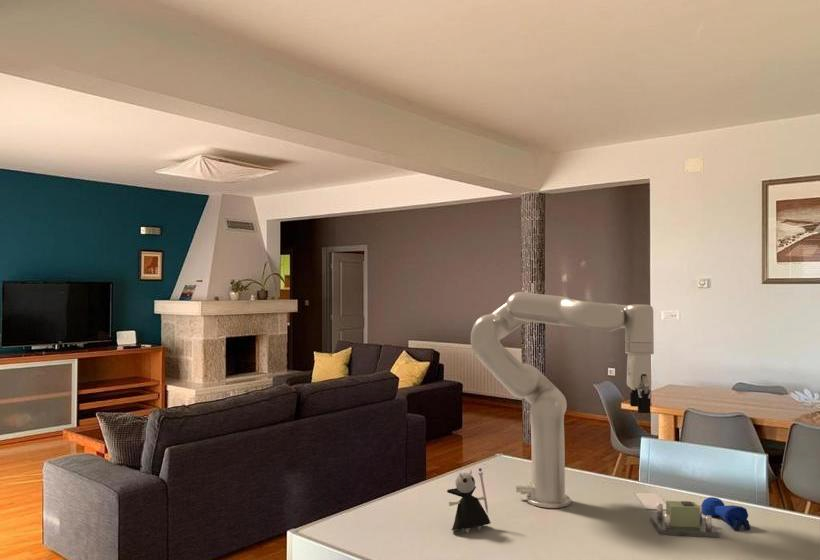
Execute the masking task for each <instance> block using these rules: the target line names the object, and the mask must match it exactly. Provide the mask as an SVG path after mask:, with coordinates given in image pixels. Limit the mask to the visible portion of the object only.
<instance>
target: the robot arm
mask: <svg viewBox="0 0 820 560" xmlns="http://www.w3.org/2000/svg"><path fill="white" fill-rule="evenodd" d="M526 322H529V323H537V324H547V325H554V326H561V327H574V328H582V329H589V330H597V331H603V332H614V331H617V330H619V329H624V339H625V340H624V341H625V342H624V343H625V344H624V345H625V347H624V348H625V352H624V353H625V354H627V362H626V386H627V387H629V388H630V389H629V391H630V392H629V394H630V395H629V397H630V398H629V400H630V401H629V403H630V404H629V405H630V407H637V413H638V414H650V413H651V391H650V390H651V389H652V364H651V363H652V361H651V355H654V353H655V349H654V348H655V347H654V344H655V343H654V339H655V337H654V331H655V330H654V308H653V306H651V305H650V304H636V303H633V304H617V303H603V302H593V301H584V300H579V299H578V300H577V299H572V298H570V297H567V296H561V295H554V294H553V295H550V294H543V293H542V294H541V293H534V292H533V293H532V292H526V291H517V292H514V293H512V294H510V296H509V297H508V299H507V300H506V302H505V303H504V304H503V305H501V306H500V307H498V308H497V309H496V310H494V311H493V312H492V313H489V314H484V315H482V316H480V317H479V318H477V320H476V321H475V322H474V324H473V326H472V329H471V333H470V345H471V349H472V352H473V354H474V355H475V357H476V359H478V361H479V362H480V363H481V364H482V365H483V366H484V368H485V369H487V371H489V373H490V374H492V376H493V377H494V378H495V379H496V380H497V381H498V382H499V383H500V384H501V385H502V386H503V387H504V388H505V389H506V390H507V391H508V392H509V393H510V394H511V395H512V396H514V397H515V398H517V399H524V400H526V401H527V402H528V403H529V404H530V408H529V419H530V420H529V423H530V434H531V435H530V439H531V440H530V441H531V442H530V444H531V445H530V447H531V448H530V449H531V482H530V483H529V484H526V486H524V485H516V486H515V493H520V495H526V501H527V502H528V503H529V504H530V505H533V506H536V507H540V508H545V509H547V508H548V509H559V508H566V507H567V506H569V505H570V504H571V503H572V502H571V497H570V496H569V495H567V494H566V479H565V478H566V476H565V475H566V474H565V473H566V471H565V470H566V467H565V466H566V464H565V463H566V461H565V457H566V456H565V449H566V448H565V414H566V411H567V406H568V404H567V400H566V397H565V395H564V394H563V392H562V391H561V390H560V389H559V388H558V387H557V386H556V385H555V384H553V382H552V381H550V379H548V377H546V376H545V375H544V374H543V373H542V372H541V371H540V370H539V369H538V368H536V366H534V365H531V364H529V363H522V362H521V361H520V360H518V358H516V357H515V355H513V353H512V352H511V351H509V350H508V349H507V348H506V347H505V346H503V345H502V343H501V340H502V339H505V338H506V337H507V336H508V335H509V334H511V333H512V332H514V331H515V330H516V329H518V328H519V327H521V326H522V325H523V324H525V323H526Z"/></svg>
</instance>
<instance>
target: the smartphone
mask: <svg viewBox="0 0 820 560" xmlns="http://www.w3.org/2000/svg"><path fill="white" fill-rule="evenodd" d="M633 494H634V495H635V496H636V498H637V499H638V501H639V502H640V504H641V505H642V506H643V508H644V509H645V510H647V511H657V504H662V505H663V511H666V501H664V499H663V497H661V496H660V494H659V493H656V492H633Z"/></svg>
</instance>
